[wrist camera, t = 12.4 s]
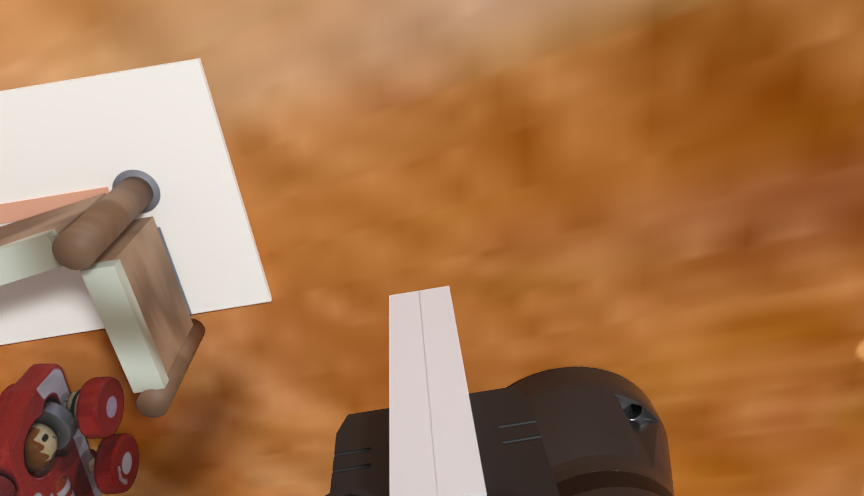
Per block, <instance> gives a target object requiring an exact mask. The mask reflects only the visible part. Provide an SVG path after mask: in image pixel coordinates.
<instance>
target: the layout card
mask: <svg viewBox="0 0 864 496" xmlns="http://www.w3.org/2000/svg"><path fill="white" fill-rule="evenodd" d="M132 176H134V177H140V178H142V179H144V180H145V181H147V182H148V183H149V184H150V186H151V188H152V190H153V199H152V201H151V202H150V203H149V204H148V205H147V207H146V208H145V209H144V210H143V211H142V212H141V213H140V214H139V215H138V216H137V217H136V218H135V219H139V218H145V217H151V216H153V217H154V220H155V223H156V226H157V228H158V231H159V234H160V236H161V239H162V242H163V244H164V247H165V250H166V253H167V255H168V258H169V261H170V263H171V266H172V269H173V271H174V274H175V277H176V280H177V282H178V285H179V288H180V290H181V293H182V296H183V299H184V301H185V304H186V307H187V309H188V312H189V315H192V314H196V313H202V312H208V311H215V310H221V309H227V308H233V307H239V306H246V305H252V304H258V303H264V302H270V301H271V300H272V297H271V293H270V290H269V287H268V283H267V280H266V277H265V273H264V270H263V267H262V263H261V260H260V257H259V253H258V250H257V247H256V243H255V240H254V237H253V233H252V230H251V227H250V223H249V220H248V216H247V213H246V210H245V206H244V203H243V200H242V196H241V193H240V190H239V186H238V183H237V180H236V176H235V173H234V170H233V166H232V163H231V160H230V156H229V153H228V150H227V146H226V143H225V140H224V136H223V133H222V130H221V126H220V123H219V120H218V116H217V113H216V110H215V106H214V103H213V100H212V96H211V93H210V90H209V86H208V83H207V80H206V76H205V73H204V69H203V66H202V63H201V59H200V58H197V59H191V60H185V61H179V62H173V63H167V64H161V65H155V66H149V67H143V68H137V69H130V70H124V71H118V72H112V73H106V74H100V75H94V76H88V77H82V78H76V79H70V80H64V81H57V82H51V83H45V84H39V85H33V86H27V87H21V88H15V89H9V90H3V91H0V227H1V226H4V225H7V224H10V223H13V222H16V221H20V220H23V219H26V218H29V217H32V216H35V215H38V214H41V213H44V212H47V211H50V210H53V209H57V208H60V207H63V206H66V205H69V204H72V203H75V202H78V201H81V200H84V199H87V198H91V197H94V196H97V195H100V194H103V193H106V194H108V193H109V192H110V191H111V190H112V189H113V188H114V187H116V186H117V185H118V184H119V183H120V182H121V181H123V180H124V179H125V178H127V177H132ZM80 271H81V270H72V269H69V268H66V267H64V266H61V267H58V268H55V269H52V270H49V271H45V272H42V273H39V274H36V275H33V276H30V277H26V278H23V279H20V280H17V281H14V282H11V283H7V284H4V285H1V286H0V345H4V344H10V343H16V342H23V341H29V340H35V339H41V338H47V337H54V336H60V335H66V334H72V333H78V332H85V331H91V330H97V329H103V328H105V327H104V325H103V323H102V320H101V318H100V316H99V314H98V311H97V309H96V307H95V305H94V302H93V300H92V298H91V296H90V293H89V291H88V289H87V287H86V284H85V282H84V280H83V277H82V275H81V273H80Z"/></svg>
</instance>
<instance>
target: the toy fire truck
mask: <svg viewBox="0 0 864 496" xmlns="http://www.w3.org/2000/svg"><path fill="white" fill-rule="evenodd" d="M123 410H124V395H123V391H122V388H121V385H120V383H119V382H118V381H117V380H116V379H115V378H112V377H96V378H92V379H90V380H88V381H87V382H86V383H85V384H84V386H83V387H82V389H81V390H77V391H74V392H73V393H71V392H70V391H69V388H68V385H67V383H66V380H65V377H64V374H63V371H62V369H61V367H60V366H59V365H57V364H35V365H33V366H31V367H30V368H29V369H28V371H27V372H26V373H25V374H24V375H23V376H22V377H21V378H20V379H19V381H18V382H17V383H15V384H12V385H10V386H8V387H7V388H6V389H5V390H4V391H3V392H2V394H1V395H0V496H101V494H102V493H104V494H117V493H123V492H126V491H128V490H129V489H130V487H131V486H132V485H133V483H134V481H135V478H136V475H137V471H138V464H139V453H138V447H137V444H136V441H135V439H134V438H133V437H132V436H131V435H129V434H118V435H112V434H114V433H115V432H116V430H117V429H118V427H119V425H120V422H121V420H122V416H123ZM86 437H87V438H105V437H106V438H105V439H104V440H103V441H102V442H101V444H100V446H99V448H98V450H97V454H96V452H95V451H94V450H90V448H89V445H88V443H87V440H86Z"/></svg>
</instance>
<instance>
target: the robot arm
mask: <svg viewBox="0 0 864 496" xmlns="http://www.w3.org/2000/svg"><path fill="white" fill-rule="evenodd" d="M334 454H335V457H334V461H333V474H332V480H331V489H330V493H329V494H327V495H326V496H674V490H673V481H672V472H671V463H670V455H669V446H668V439H667V435H666V432H665V429H664V426H663V423H662V421H661V419H660V418H659V416H658V414H657V412H656V411H655V409H654V407H653V405H652V404H651V402H650V400H649V399H648V398H647V396H646V395H645V394H644V393H643V392H642V390H640V389H639V388H638V387H637V386H636V385H635V384H633V383H632V382H630V381H629V380H627V379H625V378H624V377H622V376H620V375H617V374H615V373H612V372H609V371H605V370H602V369H596V368H589V367H565V368H557V369H552V370H548V371H544V372H541V373H537V374H534V375H532V376H529V377H527V378H525V379H523V380H521V381H519V382H517V383H515V384H513V385H512V386H510V387H508V388H502V389H495V390H489V391H483V392H477V393H470V394H469V393H468V388H467V382H466V377H465V371H464V366H463V360H462V355H461V349H460V344H459V338H458V333H457V327H456V322H455V316H454V310H453V305H452V299H451V294H450V288H449V286H445V287H439V288H433V289H426V290H420V291H414V292H408V293H402V294H396V295H389V408H387V409H381V410H374V411H368V412H362V413H356V414H349V415H348V416H347V417H346V419H345V421H344V422H343V424H342V425H341V427H340V429H339V430H338V432H337V434H336V443H335V452H334Z"/></svg>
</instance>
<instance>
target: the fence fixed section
mask: <svg viewBox="0 0 864 496" xmlns="http://www.w3.org/2000/svg"><path fill="white" fill-rule="evenodd" d="M152 199H153V190H152V188H151V186H150V184H149V183H148V182H147V181H145V180H144V179H142V178H140V177H134V176H132V177H127V178H125V179H124V180H123V181H121V182H120V183H119V184H118V185H117V186H116V187H114V188H113V189H112V190H111V191H110V192H109V193H108V194H106V195H105V196H104V197H103V198H102V199H101V200H99V201H98V202H97V203H96V204H95V205H94V206H92V207H91V208H90V209H89V210H88V211H87V212H86V213H84V214H83V215H82V216H81V217H80V218H79V219H77V220H76V221H75V222H74V223H73V224H72V225H70V226H69V227H68V228H67V229H66V230H65V231H63V232H62V233H61V234H60V235H59V236H58V237H57V238H56V239H55V240H54V241H53V243H52V253H53V256H54V257H55V259H56V260H57V261H58V262H59V263H60V264H61V265H62V266H64V267H66V268H69V269H72V270H81V271H80V273H81V275H82V277H83V280H84V282H85V284H86V287H87V289H88V291H89V293H90V296H91V298H92V300H93V302H94V305H95V307H96V309H97V311H98V314H99V316H100V318H101V320H102V323H103V325H104V327H105V329H106V332H107V334H108V336H109V338H110V341H111V343H112V345H113V347H114V350H115V352H116V354H117V357H118V359H119V361H120V363H121V366H122V368H123V370H124V372H125V375H126V377H127V379H128V381H129V384H130V386H131V388H132V390H133V393H139V392H141V393H140V395H139V396H138V398H137V400H136V407H137V409H138V410H139V412H140V413H142V414H143V415H145V416H148V417H153V418H156V417H160V416H163V415H164V414H165V413H166V412H167V411H168V409H169V407H170V404H171V402H172V400H173V398H174V396H175V394H176V392H177V390H178V388H179V386H180V384H181V382H182V380H183V377H184V375H185V373H186V371H187V369H188V367H189V365H190V363H191V361H192V359H193V357H194V355H195V352H196V350H197V348H198V346H199V344H200V342H201V340H202V338H203V336H204V334H205V328H204V326H203V324H202V323H201V322H199V321H198V320H196V319H191V317H190V315H189V312H188V309H187V307H186V304H185V301H184V299H183V296H182V293H181V290H180V288H179V285H178V282H177V280H176V277H175V274H174V271H173V269H172V266H171V263H170V261H169V258H168V255H167V253H166V250H165V247H164V244H163V242H162V239H161V236H160V234H159V231H158V228H157V226H156V223H155V220H154V217H153V216H151V217H145V218H139V219H135V218H136V217H137V216H138V215H139V214H140V213H141V212H142V211H143V210H144V209H145V208H146V207H147V205H148V204H149V203H150V202H151V201H152Z"/></svg>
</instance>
